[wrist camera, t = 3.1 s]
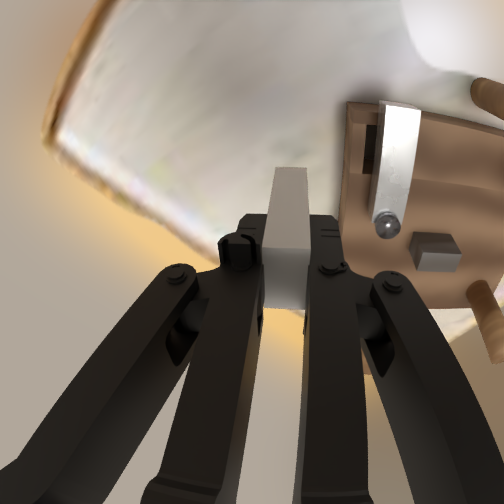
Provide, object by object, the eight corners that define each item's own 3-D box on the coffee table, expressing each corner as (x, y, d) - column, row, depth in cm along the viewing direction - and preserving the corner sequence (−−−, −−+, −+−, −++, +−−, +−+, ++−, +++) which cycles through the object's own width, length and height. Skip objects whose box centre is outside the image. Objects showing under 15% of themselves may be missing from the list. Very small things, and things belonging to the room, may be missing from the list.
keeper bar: (393, 222, 24) (400, 240, 22) (365, 220, 24) (370, 238, 22) (411, 104, 18) (424, 112, 16) (379, 99, 18) (388, 107, 16)
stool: (346, 101, 22) (385, 151, 12) (528, 138, 19) (607, 201, 9) (329, 284, 34) (332, 382, 25) (476, 287, 31) (508, 368, 22)
